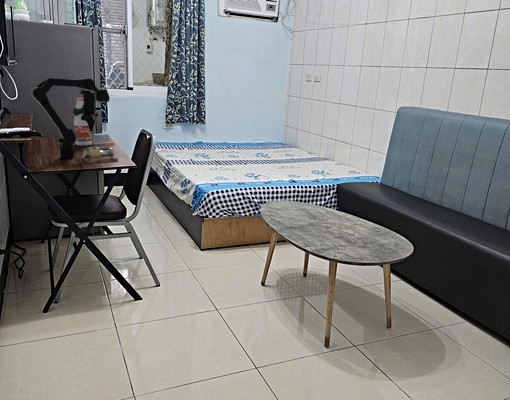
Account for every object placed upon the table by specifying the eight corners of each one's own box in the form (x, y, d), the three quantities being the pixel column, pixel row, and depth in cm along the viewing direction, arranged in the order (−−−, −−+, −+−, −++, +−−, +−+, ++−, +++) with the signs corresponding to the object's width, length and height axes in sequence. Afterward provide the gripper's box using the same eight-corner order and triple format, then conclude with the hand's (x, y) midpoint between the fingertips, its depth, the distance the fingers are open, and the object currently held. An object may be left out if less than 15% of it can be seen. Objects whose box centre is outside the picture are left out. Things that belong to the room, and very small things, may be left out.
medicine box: (105, 147, 266) (104, 133, 263) (109, 148, 263) (108, 133, 260) (93, 148, 260) (92, 134, 257) (97, 150, 257) (96, 135, 254)
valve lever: (91, 147, 229) (91, 143, 229) (91, 146, 232) (91, 142, 231) (114, 146, 234) (114, 142, 233) (113, 145, 236) (113, 141, 236)
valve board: (86, 163, 223) (85, 150, 221) (81, 158, 234) (80, 145, 232) (118, 161, 231) (117, 148, 229) (112, 156, 242) (111, 143, 240)
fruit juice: (94, 143, 276) (91, 97, 268) (88, 146, 267) (84, 99, 259) (80, 142, 277) (76, 97, 268) (73, 145, 268) (68, 98, 259)
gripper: (76, 100, 241) (79, 129, 246) (69, 103, 224) (72, 134, 229) (98, 101, 243) (100, 129, 248) (92, 104, 226) (94, 134, 231)
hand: (91, 131), depth 239 cm, fingers closed
